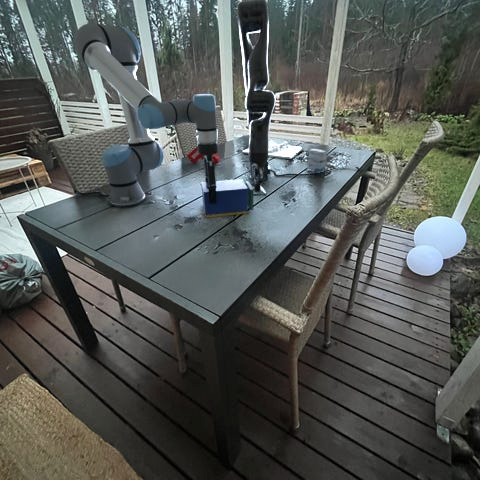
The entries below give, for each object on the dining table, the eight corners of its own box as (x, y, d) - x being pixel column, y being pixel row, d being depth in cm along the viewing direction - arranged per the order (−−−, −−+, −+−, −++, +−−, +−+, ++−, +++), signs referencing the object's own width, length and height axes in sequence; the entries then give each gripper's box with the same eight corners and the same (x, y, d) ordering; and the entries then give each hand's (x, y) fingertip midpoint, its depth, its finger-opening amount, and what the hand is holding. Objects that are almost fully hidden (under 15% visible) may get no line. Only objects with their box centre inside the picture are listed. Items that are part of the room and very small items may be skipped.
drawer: (260, 199, 122) (261, 180, 117) (266, 208, 114) (267, 188, 109) (212, 203, 118) (210, 184, 113) (214, 213, 110) (213, 193, 105)
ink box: (324, 171, 156) (327, 150, 149) (319, 173, 153) (323, 152, 146) (310, 168, 160) (313, 148, 154) (306, 170, 157) (309, 149, 151)
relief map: (291, 159, 177) (291, 151, 174) (243, 153, 190) (243, 145, 187) (302, 149, 197) (303, 142, 194) (258, 144, 211) (258, 137, 208)
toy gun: (223, 158, 167) (209, 137, 163) (221, 160, 164) (206, 138, 160) (204, 173, 177) (189, 154, 173) (201, 175, 174) (186, 155, 170)
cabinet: (242, 202, 122) (241, 178, 116) (247, 213, 113) (247, 188, 107) (203, 206, 119) (201, 182, 113) (205, 217, 110) (203, 192, 104)
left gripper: (195, 135, 108) (199, 187, 120) (199, 150, 89) (205, 210, 101) (213, 134, 110) (216, 186, 122) (222, 149, 90) (224, 208, 102)
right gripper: (245, 145, 110) (245, 186, 119) (253, 154, 99) (252, 198, 108) (263, 145, 111) (261, 185, 120) (273, 153, 100) (270, 196, 109)
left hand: (211, 197), depth 111 cm, fingers closed on cabinet, 11 cm apart
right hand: (257, 191), depth 114 cm, fingers closed
